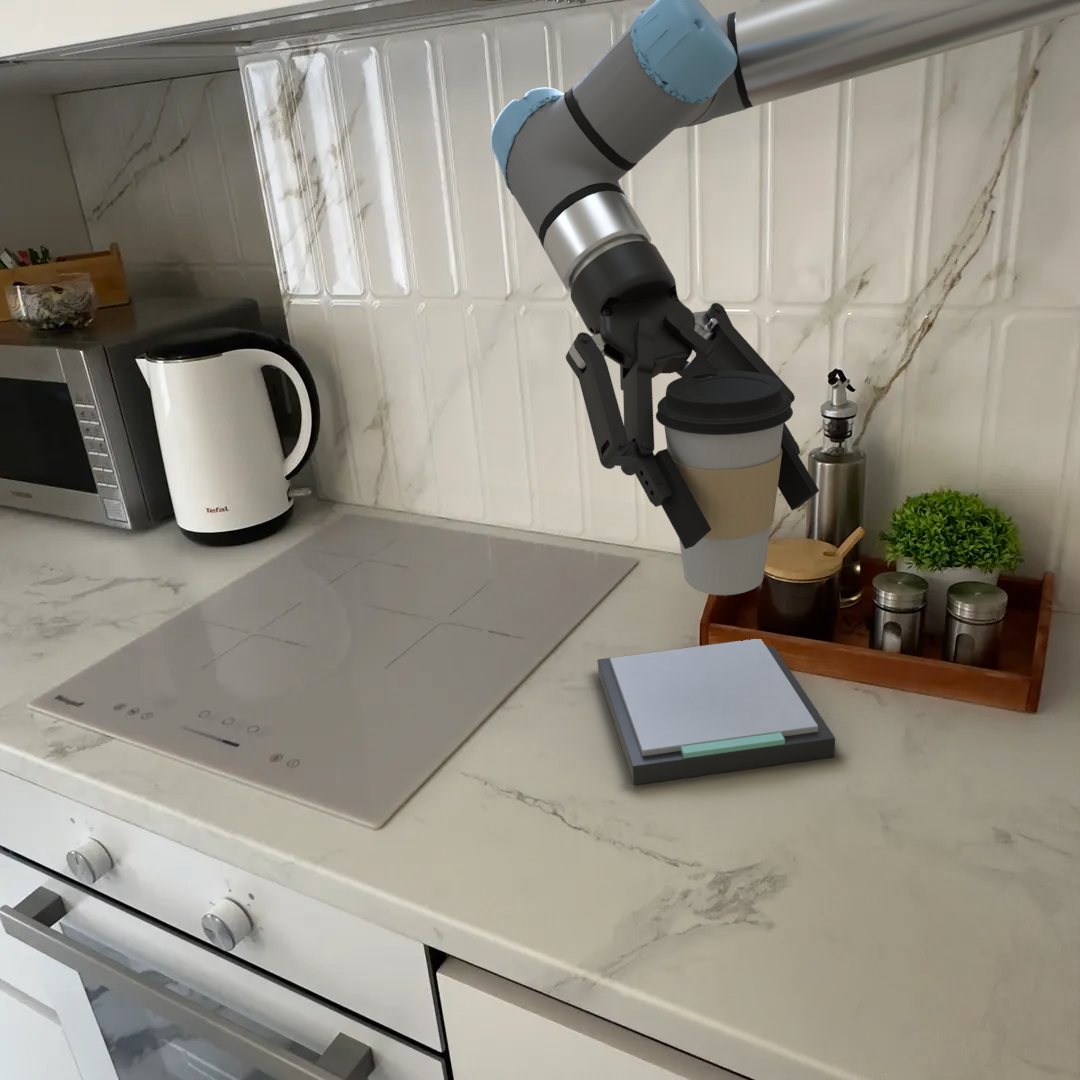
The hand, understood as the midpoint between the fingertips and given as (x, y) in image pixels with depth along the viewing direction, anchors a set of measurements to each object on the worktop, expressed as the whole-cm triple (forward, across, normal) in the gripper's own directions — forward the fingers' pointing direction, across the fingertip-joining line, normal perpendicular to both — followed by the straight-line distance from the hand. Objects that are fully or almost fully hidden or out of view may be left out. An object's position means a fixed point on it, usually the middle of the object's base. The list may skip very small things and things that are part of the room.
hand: (753, 519), depth 69 cm
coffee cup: (+2, 0, -6) cm, 7 cm away
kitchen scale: (+10, -1, -19) cm, 21 cm away
